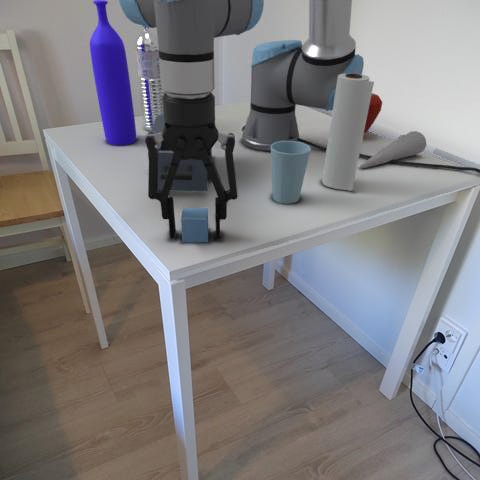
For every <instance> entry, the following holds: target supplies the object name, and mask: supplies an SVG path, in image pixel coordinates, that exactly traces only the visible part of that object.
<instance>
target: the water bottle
mask: <svg viewBox="0 0 480 480" xmlns="http://www.w3.org/2000/svg"><path fill="white" fill-rule="evenodd" d="M141 26H142V29H143V30H142V31H140V32H139V33H138V35H137V37H136V38H135V40H134V50H135V56H136V64H137V73H138V86H139V94H140V103H141V110H142V111H141V112H142V120H143V127H144V129H145V130H146V131H149V132H151V129H152V127H153V124H154V122H155V119H156V117H157V115H164V112H163V100H162V96H163V95H164V93H165V91H164V90H163V89H162V88H161V78H160V67H159V52H158V51H159V47H158V38H157V34H156V33H154V32H153V31H152V30H151V28H150V27H148V26H143V25H141Z"/></svg>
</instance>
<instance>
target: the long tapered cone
mask: <svg viewBox="0 0 480 480" xmlns="http://www.w3.org/2000/svg"><path fill="white" fill-rule="evenodd" d="M426 139H427V138H426V137H425V135H424V134H423V133H422V132H420V131H418V130H413V131H412V130H411V131H410V132H408V133H406V134H403V135H402V136H400V137H398V138H397V139H395V140H394V141H392V142H391V143H389V144H388V145H386V146H384V147H383V148H382V149H380V150H379V151H377V152H376V154H374V155H372V156H373V157H371V158H369V159H368V158H367V159H366V160H364V161H363V162H362V163H361V164H360V168H361V169H367V168H372V167H375V166H379V165H383V164H386V163H389V161H391V160H398V161H399V160H401V159H404V158H408V157H413V156H416V155H419V154H421V153H423V152H424V151H425V149H426V148H427V140H426Z"/></svg>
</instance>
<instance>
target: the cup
mask: <svg viewBox="0 0 480 480" xmlns="http://www.w3.org/2000/svg"><path fill="white" fill-rule="evenodd" d="M310 154H311V147H310V145H308V144H305V143H303V142H300V141H299V142H297V141H279V142H275V143H273V144H272V145H271V151H270V161H271V166H270V167H271V187H272V189H271V190H272V191H271V192H272V193H271V194H272V200H274V201H275V202H277V203H279V204H285V205H286V204H288V205H289V204H294V203H295V204H296V202H298V201H299V200H300V197H301V192H302V189H303V188H302V187H303V183H304V178H305V176H306V175H305V174H306V170H307V166H308V163H309V158H310Z"/></svg>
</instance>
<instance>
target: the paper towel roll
mask: <svg viewBox="0 0 480 480" xmlns="http://www.w3.org/2000/svg"><path fill="white" fill-rule="evenodd" d="M374 85H375V82H374V81H372V80H370V77H369V76H368V75H365V74H362V75H361V74H352V73H346V74H340V75H338V78H337V85H336V92H335V98H334V105H333V111H332V112H331V117H330V118H331V119H330V126H329V132H328V139H327V144H326V148H327V151H325V158H324V165H323V171H322V177H321V178H322V179H321V183H322V184H323V186H326V187H328V188H332V189H335V190H343V191H344V190H345V191H349V192H353V189H354V183H355V179H356V174H357V170H358V169H357V168H358V163H359V158H360V157H359V154H361V149H362V144H363V138H364V135H365V134H364V129H365V124H366V119H367V114H368V109H369V104H370V100H371V95H372V93H373V90H374Z"/></svg>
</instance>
